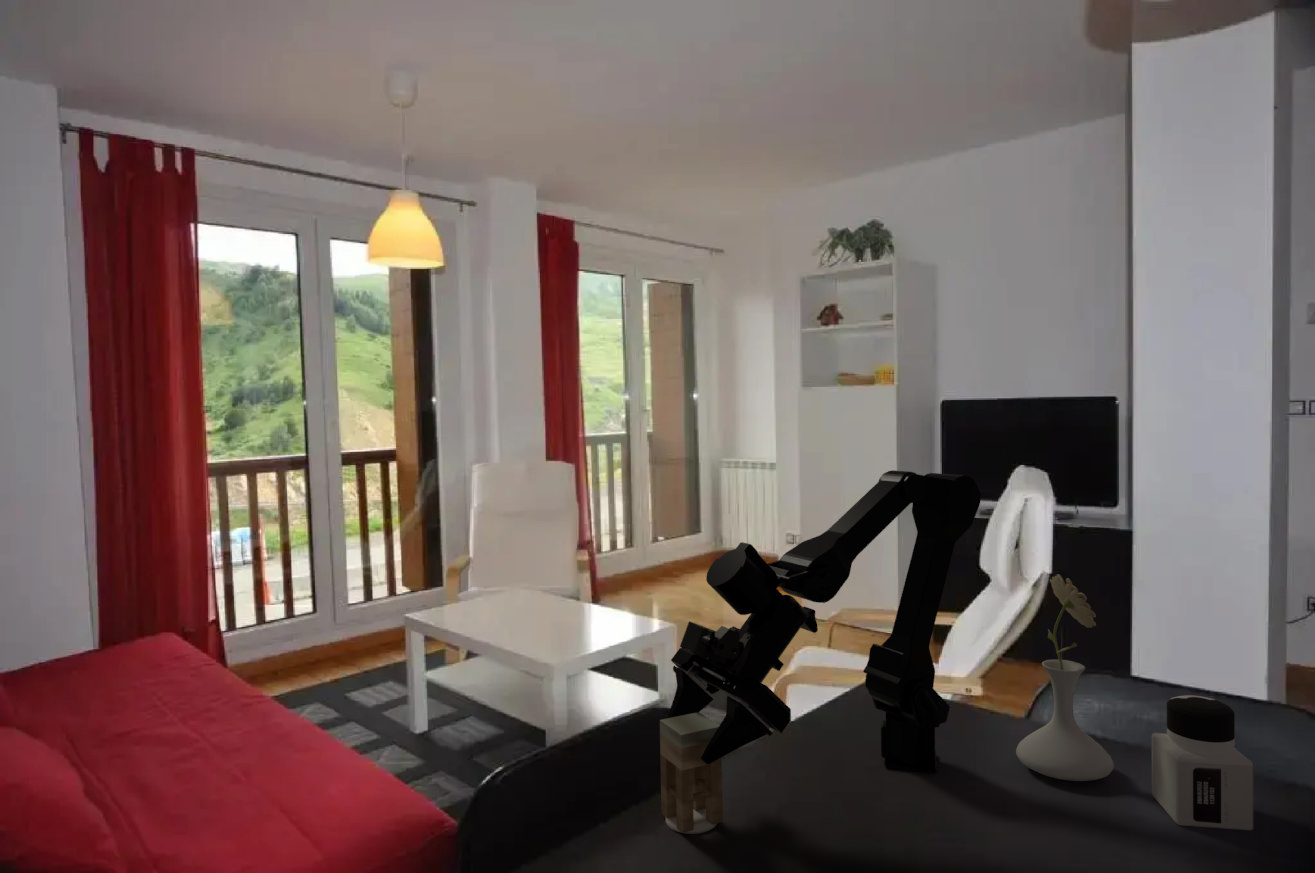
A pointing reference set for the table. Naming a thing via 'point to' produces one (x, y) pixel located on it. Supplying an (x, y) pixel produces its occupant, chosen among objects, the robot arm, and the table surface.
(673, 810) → the stool
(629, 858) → the table surface
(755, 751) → the table surface
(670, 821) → the mat
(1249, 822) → the container
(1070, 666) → the flower in vase
